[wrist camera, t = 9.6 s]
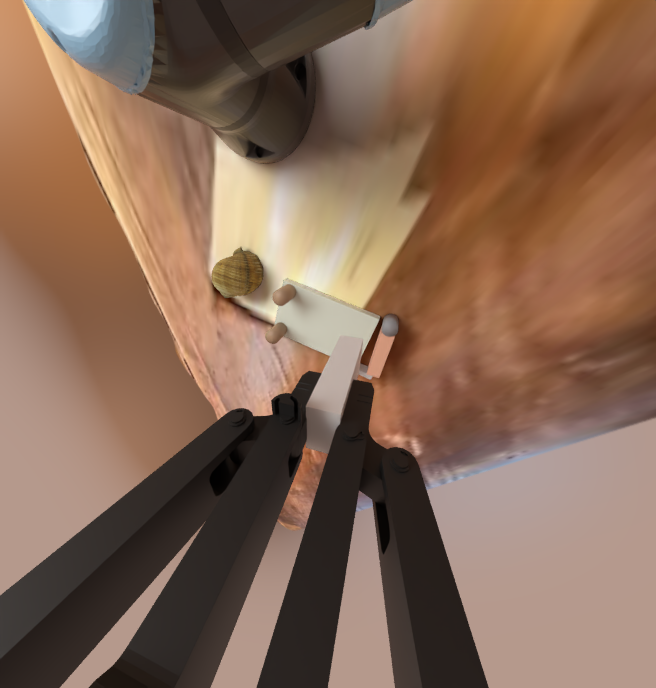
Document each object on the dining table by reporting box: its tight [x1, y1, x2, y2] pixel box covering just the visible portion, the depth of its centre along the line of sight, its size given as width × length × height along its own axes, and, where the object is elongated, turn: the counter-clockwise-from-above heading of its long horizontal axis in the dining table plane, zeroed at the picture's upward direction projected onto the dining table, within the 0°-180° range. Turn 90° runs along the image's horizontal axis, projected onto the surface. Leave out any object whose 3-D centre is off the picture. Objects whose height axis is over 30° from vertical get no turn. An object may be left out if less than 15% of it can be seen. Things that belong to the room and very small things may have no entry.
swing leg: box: [367, 314, 399, 378], centre depth 42 cm, size 11×3×4 cm, turn 167°
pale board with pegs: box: [265, 278, 380, 380], centre depth 42 cm, size 22×12×6 cm, turn 70°
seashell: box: [212, 247, 263, 298], centre depth 43 cm, size 10×7×8 cm
